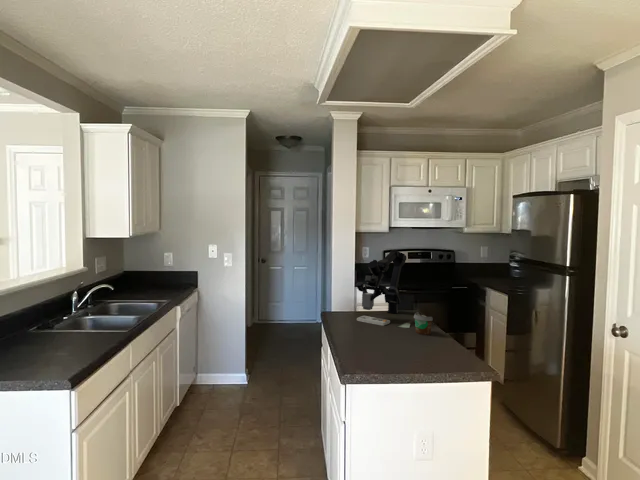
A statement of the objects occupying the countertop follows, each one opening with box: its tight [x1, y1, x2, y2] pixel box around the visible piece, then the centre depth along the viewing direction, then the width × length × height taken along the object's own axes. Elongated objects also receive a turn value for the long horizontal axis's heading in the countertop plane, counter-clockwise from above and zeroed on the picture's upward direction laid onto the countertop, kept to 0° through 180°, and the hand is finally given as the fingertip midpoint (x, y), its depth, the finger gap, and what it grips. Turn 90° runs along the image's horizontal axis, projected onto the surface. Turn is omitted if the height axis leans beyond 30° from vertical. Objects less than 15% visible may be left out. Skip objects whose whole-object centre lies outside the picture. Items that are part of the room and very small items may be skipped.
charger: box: [361, 292, 375, 311], centre depth 258 cm, size 5×5×9 cm
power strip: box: [356, 315, 391, 326], centre depth 257 cm, size 18×8×3 cm, turn 53°
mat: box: [395, 322, 411, 329], centre depth 253 cm, size 9×9×1 cm
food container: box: [413, 311, 433, 336], centre depth 237 cm, size 12×6×10 cm, turn 25°
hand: (366, 299), depth 257 cm, fingers closed on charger, 5 cm apart
